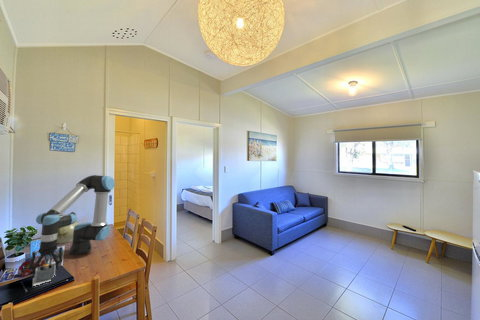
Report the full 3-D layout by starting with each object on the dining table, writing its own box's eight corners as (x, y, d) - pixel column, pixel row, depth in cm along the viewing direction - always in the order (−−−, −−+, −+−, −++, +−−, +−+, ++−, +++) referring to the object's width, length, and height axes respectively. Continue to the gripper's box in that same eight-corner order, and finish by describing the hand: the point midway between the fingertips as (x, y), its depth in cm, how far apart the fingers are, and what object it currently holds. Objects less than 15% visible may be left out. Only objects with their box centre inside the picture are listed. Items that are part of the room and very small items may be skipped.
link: (35, 276, 121) (37, 267, 121) (52, 272, 126) (53, 263, 127) (36, 282, 116) (37, 271, 116) (53, 277, 121) (54, 267, 122)
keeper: (32, 279, 121) (34, 263, 121) (54, 274, 128) (56, 259, 129) (32, 287, 114) (34, 270, 114) (56, 280, 121) (57, 264, 122)
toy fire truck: (17, 274, 125) (19, 258, 126) (44, 268, 134) (46, 252, 135) (17, 279, 121) (19, 262, 121) (45, 272, 130) (46, 256, 130)
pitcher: (52, 247, 165) (56, 218, 166) (43, 241, 176) (46, 213, 178) (83, 240, 184) (86, 214, 186) (73, 235, 196) (76, 210, 197)
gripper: (25, 246, 112) (20, 286, 111) (70, 238, 127) (67, 273, 126) (25, 242, 117) (20, 280, 116) (69, 235, 132) (65, 269, 131)
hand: (44, 276), depth 121 cm, fingers closed on link, 7 cm apart
